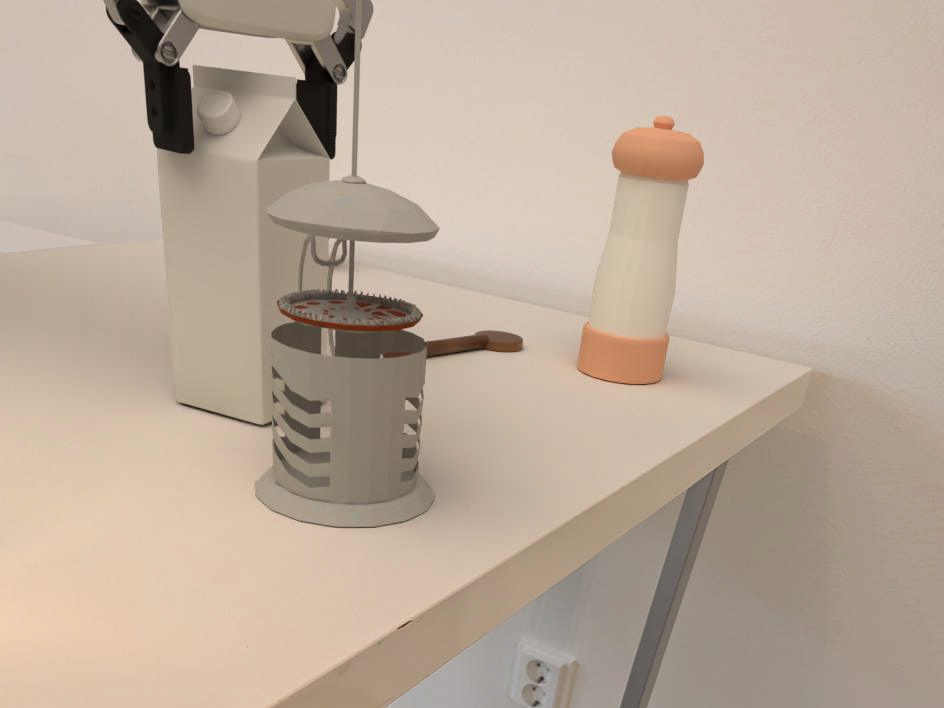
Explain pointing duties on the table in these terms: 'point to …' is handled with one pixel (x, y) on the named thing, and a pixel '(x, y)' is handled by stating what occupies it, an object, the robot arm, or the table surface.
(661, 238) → the pepper shaker
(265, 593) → the table surface
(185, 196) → the milk carton
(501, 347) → the wooden spoon
